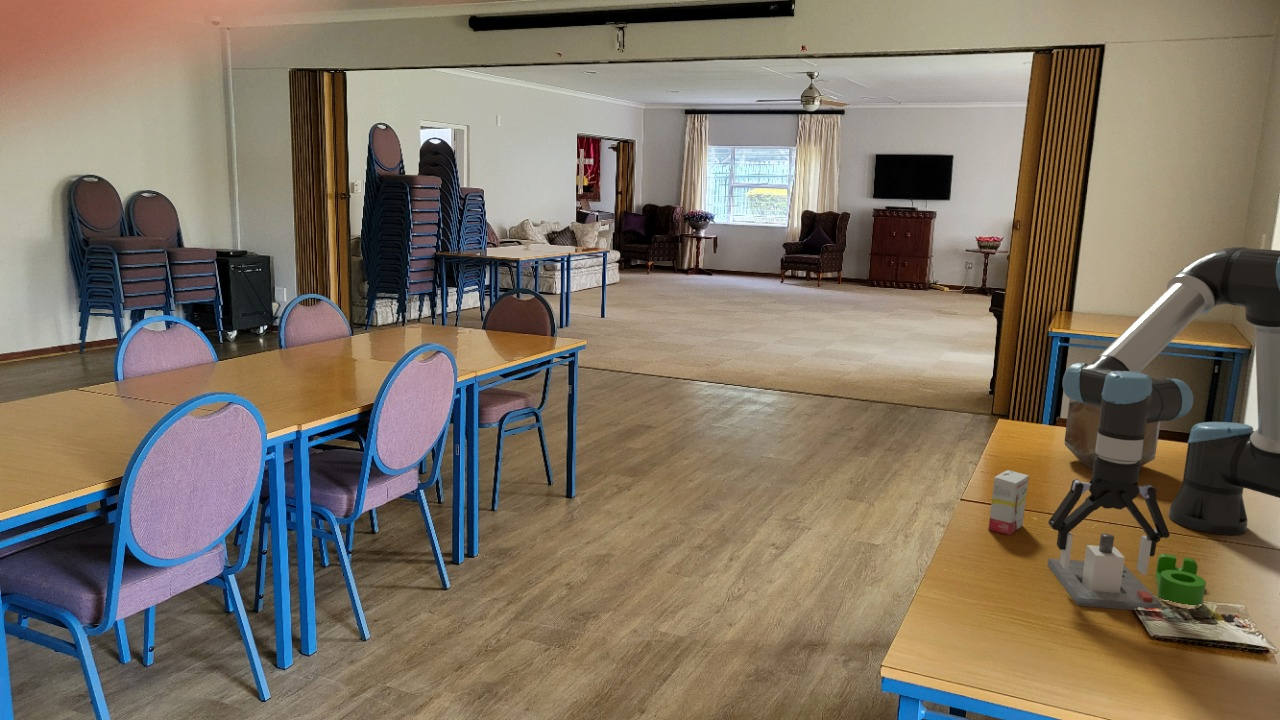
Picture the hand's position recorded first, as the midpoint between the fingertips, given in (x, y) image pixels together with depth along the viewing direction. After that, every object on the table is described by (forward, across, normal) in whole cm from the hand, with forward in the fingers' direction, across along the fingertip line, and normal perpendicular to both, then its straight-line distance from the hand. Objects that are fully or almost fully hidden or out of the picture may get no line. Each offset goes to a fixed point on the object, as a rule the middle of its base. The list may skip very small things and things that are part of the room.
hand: (1102, 569), depth 173 cm
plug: (+4, 0, 0) cm, 4 cm away
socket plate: (+4, -1, -2) cm, 5 cm away
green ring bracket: (+5, -15, -3) cm, 16 cm away
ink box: (+5, +9, -31) cm, 33 cm away
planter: (+5, -31, -86) cm, 92 cm away
